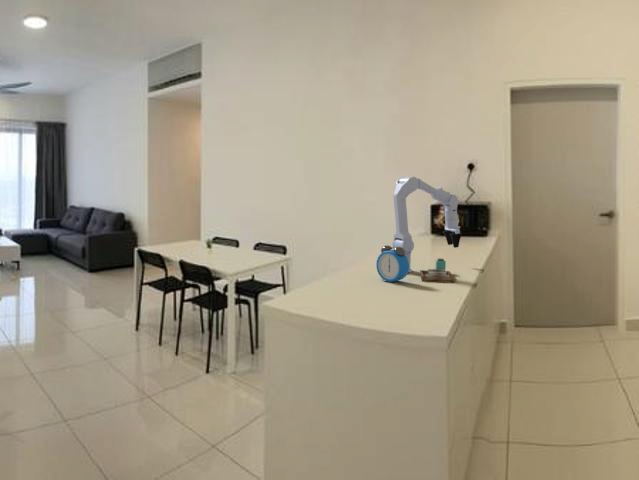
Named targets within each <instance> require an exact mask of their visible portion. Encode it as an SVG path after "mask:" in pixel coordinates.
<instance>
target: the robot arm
mask: <svg viewBox="0 0 639 480" xmlns="http://www.w3.org/2000/svg"><path fill="white" fill-rule="evenodd" d="M416 190H421V191H423V192H425V193H428V194H430V196H431V198H432V199H434V200H435V201H437V202H440V203H441V205H443V209H444V220H445V221H444V222H445V223H444V224H445V225H444V230H443V231H442V233H443V235H444V236H445V239H446V242H447V245H449V246H450V245H452V246H453V248H455V249H456V248H459V246H460V241H461V237H462V236H463V233H462V232H461V230H460V229H461V226H459V224H458V205H459V202H460V199H459V198H458V196H457V195H456V194H453V193H451V192H450V191H446V190H444V189H443V187H441V186H437V187H433V186H432V185H430V184H428V183H426V182H425V181H423V180H422V179H420V178H417V177H416V176H411V177H409V176H408V177H405V176H402V177H401V176H400V178H399V179H398V180H396V182H395V189H394V192H393V206H394V219H395V230H396V233H394V235H393V240H392V247H393V248H392V249H393V250H394V249H395V248H396V247H402V248H403V249H404V250H405V256H406V257H407V259H408V262H409V270H408V273H412V268H411V262H412V261H411V260H412V259H411V255H412V252H413V250H414V248H415V243H414V241H413V237H412V235H411V233H410V231H409V226H408V225H409V222H408V210H407V197H408V196H410V194H412V193H413V192H416Z"/></svg>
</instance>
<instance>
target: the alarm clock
mask: <svg viewBox="0 0 639 480" xmlns="http://www.w3.org/2000/svg"><path fill="white" fill-rule="evenodd" d="M408 270H409V262H408V259H407V257H406V256H405V250H404V249H403V248H402V247H396V248H395V249H394V248H393V246H391V245H388V244H387V245H384V246H383V247H381V249H380V254H379V255H378V257H377V260H376V271H377V273H378V275H379V277H380V278H381V279H382V281H385V282H388V283H393V282H394V284H397V281H400V280H403V279H405V278H406V276H407V275H408V273H409V272H408Z"/></svg>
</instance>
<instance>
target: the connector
mask: <svg viewBox="0 0 639 480" xmlns="http://www.w3.org/2000/svg"><path fill="white" fill-rule="evenodd" d="M446 262H447V261H446V260H445V259H444V258H441V257H440V258H437V259H435V267H434V269H442V270H445V271H446Z"/></svg>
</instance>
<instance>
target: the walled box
mask: <svg viewBox="0 0 639 480" xmlns="http://www.w3.org/2000/svg"><path fill="white" fill-rule="evenodd" d="M419 276H420V280H421V282H428V283H429V282H433V283H434V282H435V283H454V282H455V276H454V275H453V274H452V272H451V271H450V270H449V271H448V270H446V269H445V270H442V269H435V268H434V269H433V268H428V269H427V270H423V269H422V270H421V269H420V270H419Z"/></svg>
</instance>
